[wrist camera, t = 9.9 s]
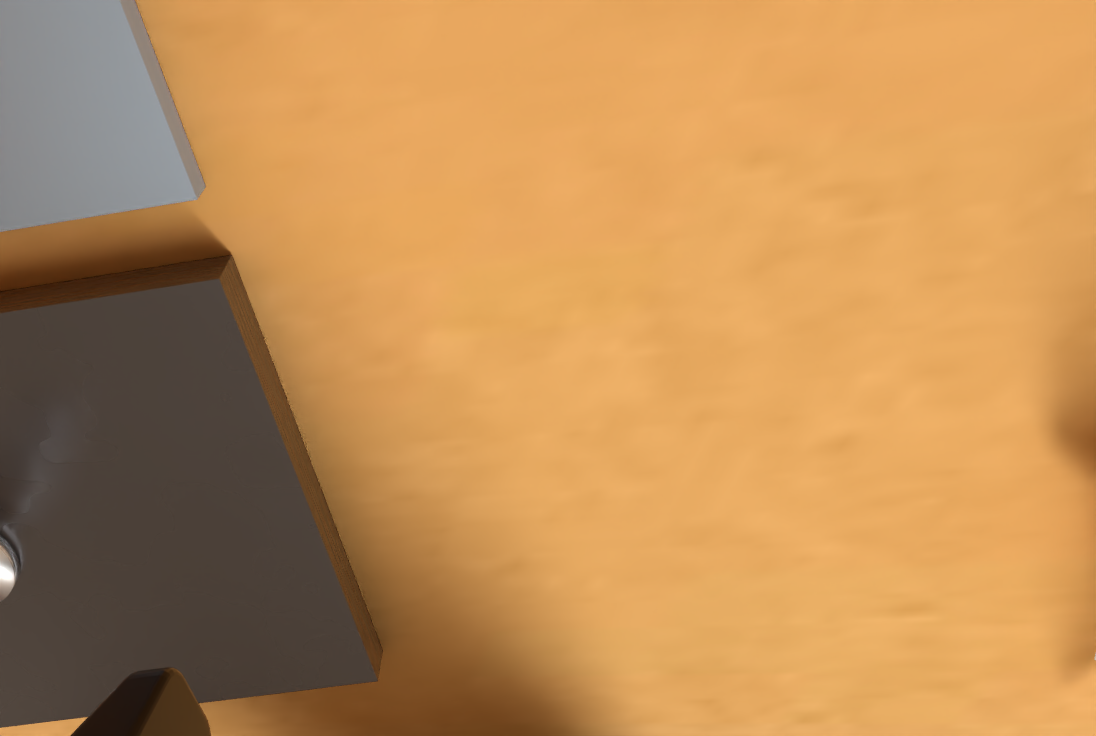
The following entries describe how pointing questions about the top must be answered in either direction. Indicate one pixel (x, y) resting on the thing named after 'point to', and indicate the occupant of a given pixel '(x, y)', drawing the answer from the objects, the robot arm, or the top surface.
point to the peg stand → (160, 502)
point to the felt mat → (85, 115)
